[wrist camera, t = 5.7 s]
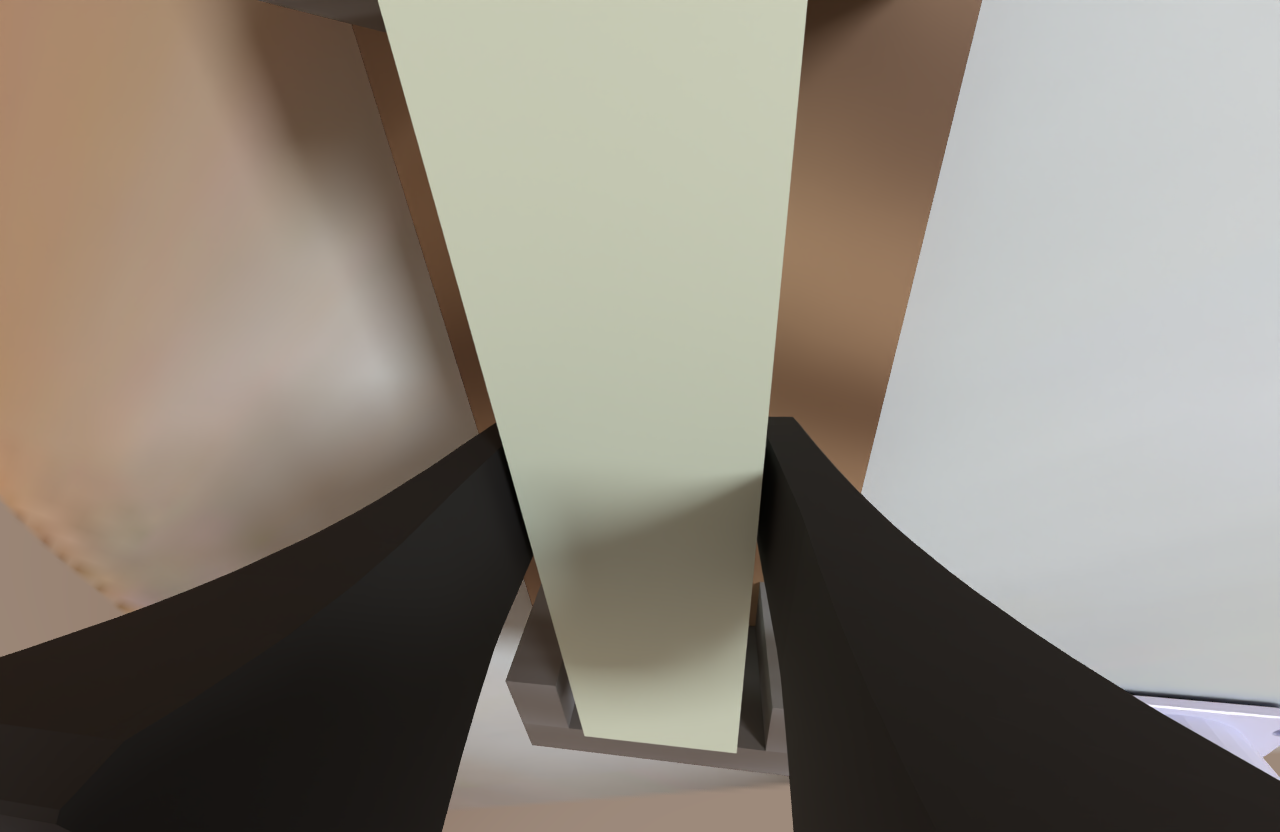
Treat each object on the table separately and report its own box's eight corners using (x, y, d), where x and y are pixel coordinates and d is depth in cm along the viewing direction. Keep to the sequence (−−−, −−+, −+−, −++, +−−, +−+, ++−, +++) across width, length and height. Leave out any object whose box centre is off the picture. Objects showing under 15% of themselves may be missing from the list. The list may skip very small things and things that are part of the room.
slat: (729, 587, 16) (736, 753, 12) (616, 580, 17) (584, 736, 12) (764, -53, 7) (832, -263, 3) (527, -22, 8) (330, -168, 4)
